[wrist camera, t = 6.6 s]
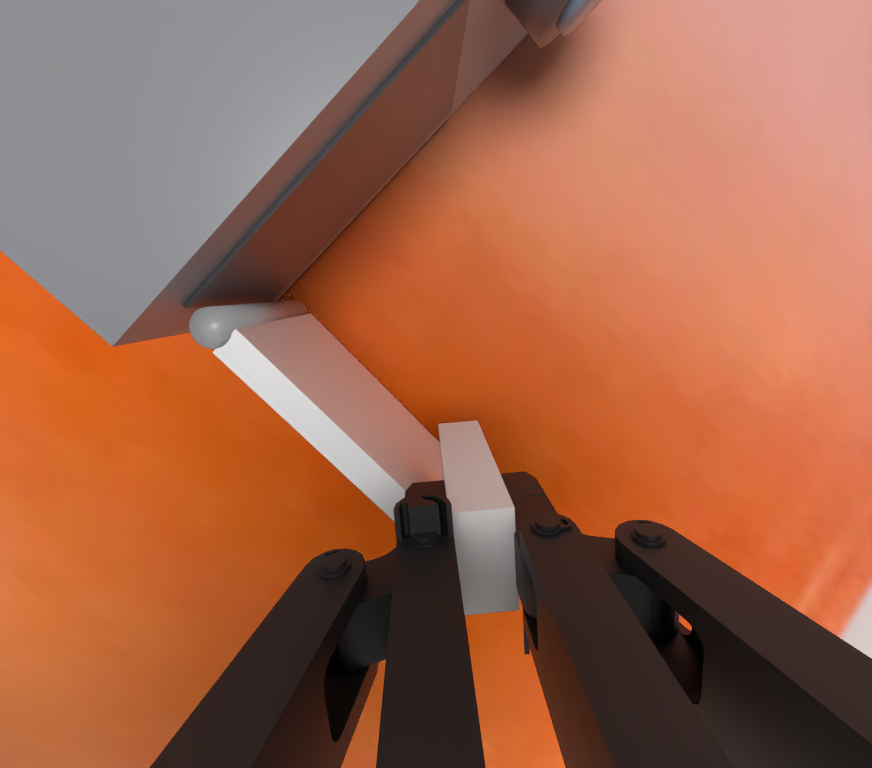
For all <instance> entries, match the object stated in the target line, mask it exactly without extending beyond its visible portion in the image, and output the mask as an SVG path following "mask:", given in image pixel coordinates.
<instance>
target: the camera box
mask: <svg viewBox="0 0 872 768" xmlns="http://www.w3.org/2000/svg"><path fill="white" fill-rule="evenodd" d="M600 1H601V0H0V251H2V252H3V253H4V254H5V255H6V256H7V257H9V258H10V259H11V260H12V261H13V262H14V263H16V264H17V265H18V266H19V267H20V268H21V269H23V270H24V271H25V272H26V273H27V274H28V275H30V276H31V277H32V278H33V279H34V280H35V281H37V282H38V283H39V284H40V285H41V286H42V287H44V288H45V289H46V290H47V291H48V292H49V293H51V294H52V295H53V296H54V297H55V298H56V299H58V300H59V301H60V302H61V303H62V304H63V305H65V306H66V307H67V308H68V309H69V310H70V311H72V312H73V313H74V314H75V315H76V316H77V317H79V318H80V319H81V320H82V321H83V322H84V323H86V324H87V325H88V326H89V327H90V328H91V329H93V330H94V331H95V332H96V333H97V334H98V335H100V336H101V337H102V338H103V339H104V340H105V341H107V342H108V343H109V344H110V345H111V346H118V345H123V344H129V343H134V342H140V341H145V340H151V339H156V338H162V337H167V336H173V335H178V334H184V333H190V329H189V322H190V319H191V316H192V315H193V314H194V312H195V311H197V310H198V309H200V308H203V307H212V306H225V305H238V304H251V303H264V302H277V300H278V299H279V298H280V297H281V296H282V295H283V294H284V293H285V292H286V291H287V290H288V289H289V288H290V287H291V286H292V284H293V283H294V282H295V281H296V280H297V279H298V278H299V277H300V276H301V275H302V274H303V273H304V272H305V271H306V270H307V269H308V267H309V266H310V265H311V264H312V263H313V262H314V261H315V260H316V259H317V258H318V257H319V256H320V255H321V254H322V253H323V252H324V250H325V249H326V248H327V247H328V246H329V245H330V244H331V243H332V242H333V241H334V240H335V239H336V238H337V237H338V236H339V234H340V233H341V232H342V231H343V230H344V229H345V228H346V227H347V226H348V225H349V224H350V223H351V222H352V221H353V220H354V219H355V217H356V216H357V215H358V214H359V213H360V212H361V211H362V210H363V209H364V208H365V207H366V206H367V205H368V204H369V203H370V202H371V200H372V199H373V198H374V197H375V196H376V195H377V194H378V193H379V192H380V191H381V190H382V189H383V188H384V187H385V186H386V184H387V183H388V182H389V181H390V180H391V179H392V178H393V177H394V176H395V175H396V174H397V173H398V172H399V171H400V170H401V169H402V167H403V166H404V165H405V164H406V163H407V162H408V161H409V160H410V159H411V158H412V157H413V156H414V155H415V154H416V153H417V152H418V150H419V149H420V148H421V147H422V146H423V145H424V144H425V143H426V142H427V141H428V140H429V139H430V138H431V137H432V136H433V134H434V133H435V132H436V131H437V130H438V129H439V128H440V127H441V126H442V125H443V124H444V123H445V122H446V121H447V120H448V119H449V117H450V116H451V115H452V114H453V113H454V112H455V111H456V110H457V109H458V108H459V107H460V106H461V105H462V104H463V103H464V101H465V100H466V99H467V98H468V97H469V96H470V95H471V94H472V93H473V92H474V91H475V90H476V89H477V88H478V87H479V86H480V84H481V83H482V82H483V81H484V80H485V79H486V78H487V77H488V76H489V75H490V74H491V73H492V72H493V71H494V70H495V69H496V67H497V66H498V65H499V64H500V63H501V62H502V61H503V60H504V59H505V58H506V57H507V56H508V55H509V54H510V53H511V51H512V50H513V49H514V48H515V47H516V46H517V45H518V44H519V43H520V42H521V41H522V40H523V39H524V38H525V37H526V36H527V34H529V35H530V37H531V38H532V39H533V40H534V42H535V43H536V44H537V45H538V47H539V48H542V47H544V46H546V45H547V44H549V43H550V42H551V41H553V40H554V39H555V38H556V37H557V36H558V35H559V34H560V33H561V34H562V35H563V36H566V35H568V34H569V33H570V32H572V31H573V30H574V29H575V28H576V27H577V26H578V25H579V24H580V23H581V22H582V21H583V20H584V19H585V18H586V17H587V16H588V15H589V14H590V13H591V12H592V11H593V9H594V8H595V7H596V6H597V5H598V4H599V3H600Z"/></svg>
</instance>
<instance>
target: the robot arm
mask: <svg viewBox="0 0 872 768" xmlns="http://www.w3.org/2000/svg"><path fill="white" fill-rule="evenodd" d="M438 428H439V440H440V452H441V464H442V476H443V480H439V481H428V482H416V483H412V484H411V485H410V486H409V487H408V488H407V490H406V491H405V498H403V499H401V500H400V501H399V502H397V503H396V505H395V507H394V509H393V511H394V520H395V529H396V538H397V546H396V548H395V549H393V550H392V551H391V552H389V553H388V554H386V555H384V556H382V557H379V558H376V559H373V560H370V561H367V562H365V560H364V557H363V555H362V554H360V553H359V552H357V551H356V550H351V549H335V550H331V551H327V552H325V553H322V554H321V555H319V556H317V557H315V558H313V559H312V560H311V561H310V562H309V563H308V564H307V565H306V566H305V567H304V569H303V570H302V571H301V572H300V574H299V575H298V576H297V578H296V579H295V580H294V581H293V583H292V584H291V585H290V587H289V588H288V589H287V591H286V592H285V593H284V594H283V596H282V597H281V598H280V600H279V601H278V602H277V604H276V605H275V606H274V607H273V609H272V610H271V611H270V613H269V614H268V615H267V616H266V618H265V619H264V620H263V622H262V623H261V624H260V626H259V627H258V628H257V629H256V631H255V632H254V633H253V635H252V636H251V637H250V638H249V640H248V641H247V642H246V644H245V645H244V646H243V648H242V649H241V650H240V651H239V653H238V654H237V655H236V657H235V658H234V659H233V661H232V662H231V663H230V664H229V666H228V667H227V668H226V670H225V671H224V672H223V673H222V675H221V676H220V677H219V679H218V680H217V681H216V683H215V684H214V685H213V686H212V688H211V689H210V690H209V692H208V693H207V694H206V695H205V697H204V698H203V699H202V701H201V702H200V703H199V705H198V706H197V707H196V708H195V710H194V711H193V712H192V714H191V715H190V716H189V718H188V719H187V720H186V721H185V723H184V724H183V725H182V727H181V728H180V729H179V730H178V732H177V733H176V734H175V736H174V737H173V738H172V740H171V741H170V742H169V743H168V745H167V746H166V747H165V749H164V750H163V751H162V752H161V754H160V755H159V756H158V758H157V759H156V760H155V762H154V763H153V764H152V765H151V767H150V768H341V765H342V763H343V760H344V757H345V755H346V752H347V750H348V747H349V744H350V742H351V739H352V736H353V734H354V731H355V729H356V726H357V723H358V721H359V718H360V716H361V713H362V710H363V708H364V705H365V702H366V700H367V697H368V695H369V692H370V689H371V687H372V684H373V681H374V679H375V676H376V674H377V669H378V663H379V661H381V660H384V659H386V666H385V677H384V688H383V699H382V710H381V720H380V731H379V742H378V753H377V764H376V768H485V761H484V754H483V747H482V739H481V732H480V725H479V717H478V710H477V702H476V695H475V688H474V680H473V673H472V666H471V658H470V651H469V644H468V636H467V629H466V621H465V615H472V614H483V613H493V612H504V611H514V610H519V597H518V593H519V596H520V599H521V603H522V606H523V624H524V648H525V654H530V649H531V653H532V656H533V660H534V663H535V666H536V670H537V673H538V676H539V680H540V683H541V686H542V690H543V693H544V696H545V700H546V703H547V706H548V710H549V713H550V716H551V720H552V723H553V726H554V730H555V733H556V736H557V740H558V743H559V746H560V750H561V753H562V756H563V760H564V763H565V766H566V768H872V659H871V658H870V657H868V656H866V655H865V654H863V653H862V652H860V651H859V650H857V649H856V648H854V647H853V646H851V645H850V644H848V643H846V642H845V641H843V640H842V639H840V638H839V637H837V636H836V635H834V634H833V633H831V632H830V631H828V630H826V629H825V628H823V627H822V626H820V625H819V624H817V623H816V622H814V621H813V620H811V619H810V618H808V617H807V616H805V615H803V614H802V613H800V612H799V611H797V610H796V609H794V608H793V607H791V606H790V605H788V604H787V603H785V602H783V601H782V600H780V599H779V598H777V597H776V596H774V595H773V594H771V593H770V592H768V591H767V590H765V589H763V588H762V587H760V586H759V585H757V584H756V583H754V582H753V581H751V580H750V579H748V578H747V577H745V576H743V575H742V574H740V573H739V572H737V571H736V570H734V569H733V568H731V567H730V566H728V565H727V564H725V563H723V562H722V561H720V560H719V559H717V558H716V557H714V556H713V555H711V554H710V553H708V552H707V551H705V550H703V549H702V548H700V547H699V546H697V545H696V544H694V543H693V542H691V541H690V540H688V539H687V538H685V537H684V536H682V535H680V534H679V533H677V532H676V531H674V530H673V529H671V528H669V527H667V526H665V525H662V524H659V523H655V522H652V521H648V520H644V521H643V520H633V521H626V522H624V523H622V524H619V525H618V527H617V528H616V529H615V539H613V538H603V537H595V536H588V535H585V534H582V533H581V531H580V530H579V528H578V527H577V525H576V524H575V523H574V522H573V521H572V520H571V519H569V518H567V517H565V516H562V515H559V514H557V512H556V511H555V509H554V507H553V506H552V504H551V502H550V501H549V499H548V497H547V496H546V495H545V492H544V491H543V489H542V488H541V486H540V484H539V482H538V481H537V479H536V478H535V477H533V476H532V475H530V474H528V473H527V472H514V473H503V474H500V472H499V470H498V467H497V465H496V463H495V460H494V458H493V456H492V453H491V451H490V448H489V446H488V444H487V441H486V439H485V437H484V434H483V432H482V430H481V427H480V425H479V423H478V420H476V421H465V422H453V423H442V424H438ZM679 614H680V615H681V616H682V617H683V618H684V619H685V620H687V621H688V622H689V623H690V625H691V626H692V630H691V631H690V630H688V629H687V628H685V627H684V626H683V625H682V624H681V623H680V622H679Z"/></svg>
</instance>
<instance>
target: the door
mask: <svg viewBox="0 0 872 768" xmlns="http://www.w3.org/2000/svg"><path fill="white" fill-rule="evenodd" d="M189 329H190V333H191V335H192V337H193V339H194V340H195V341H196V342H197V343H198V344H199V345H201V346H203V347H205V348H209V349H215V350H214V352H213V353H214V354H215V355H216V356H217V357H218V358H219V359H220V360H221V361H222V362H223V363H224V364H225V365H226V366H228V367H229V368H230V369H231V370H232V371H233V372H234V373H235V374H236V375H237V376H238V377H239V378H240V379H242V380H243V381H244V382H245V383H246V384H247V385H248V386H249V387H250V388H251V389H252V390H253V391H254V392H256V393H257V394H258V395H259V396H260V397H261V398H262V399H263V400H264V401H265V402H266V403H267V404H268V405H270V406H271V407H272V408H273V409H274V410H275V411H276V412H277V413H278V414H279V415H280V416H281V417H282V418H283V419H285V420H286V421H287V422H288V423H289V424H290V425H291V426H292V427H293V428H294V429H295V430H296V431H297V432H299V433H300V434H301V435H302V436H303V437H304V438H305V439H306V440H307V441H308V442H309V443H310V444H311V445H313V446H314V447H315V448H316V449H317V450H318V451H319V452H320V453H321V454H322V455H323V456H324V457H325V458H327V459H328V460H329V461H330V462H331V463H332V464H333V465H334V466H335V467H336V468H337V469H338V470H339V471H341V472H342V473H343V474H344V475H345V476H346V477H347V478H348V479H349V480H350V481H351V482H352V483H353V484H354V485H356V486H357V487H358V488H359V489H360V490H361V491H362V492H363V493H364V494H365V495H366V496H367V497H368V498H370V499H371V500H372V501H373V502H374V503H375V504H376V505H377V506H378V507H379V508H380V509H381V510H382V511H384V512H385V513H386V514H387V515H388V516H389V517H390V518H391V519H392V520H393V521H394V522H395V520H394V511H393V509H394V507H395V505H396V503H397V502H399V501H400V500H401V499H403V498H405V491H406V490H407V488H408V487H409V486H410V485H411V484H412V483H416V482H428V481H439V480H443V476H442V464H441V452H440V442H439V441H438V440H437V439H436V438H435V437H434V436H433V435H432V434H431V433H430V432H429V431H428V430H427V429H426V428H425V427H424V426H423V425H422V424H421V423H420V422H419V421H418V420H417V419H416V418H415V417H414V416H413V415H412V414H411V413H410V412H409V411H408V410H407V409H406V408H405V407H404V406H403V405H402V404H401V403H400V402H399V401H398V400H397V399H396V398H395V397H394V396H393V395H392V394H391V393H390V392H389V391H388V390H387V389H386V388H385V387H384V386H383V385H382V384H381V383H380V382H379V381H378V380H377V379H376V378H375V377H374V376H373V375H372V374H371V373H370V372H369V371H368V370H367V369H366V368H365V367H364V366H363V365H362V364H361V363H360V362H359V361H358V360H357V359H356V358H355V357H354V356H353V355H352V354H351V353H350V352H349V351H348V350H347V349H346V348H345V347H344V346H343V345H342V344H341V343H340V342H339V341H338V340H337V339H336V338H335V337H334V336H333V335H332V334H331V333H330V332H329V331H328V330H327V329H326V328H325V327H324V326H323V325H322V324H321V323H320V322H319V321H318V320H317V319H316V318H315V317H314V316H313V315H312V314H311V313H310V314H309V312H308V308H307V307H306V305H305V304H304V303H303V302H301V301H298V300H290V301H277V302H264V303H251V304H238V305H225V306H212V307H203V308H200V309H198V310H197V311H195V312H194V314H193V315H192V316H191V319H190V322H189Z"/></svg>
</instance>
